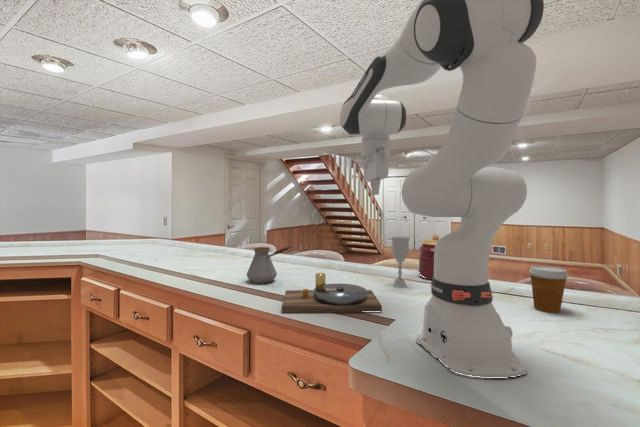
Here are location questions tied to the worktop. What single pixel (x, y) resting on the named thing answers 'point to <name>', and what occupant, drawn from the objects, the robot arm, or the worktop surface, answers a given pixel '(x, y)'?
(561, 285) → the disposable coffee cup
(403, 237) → the chalice
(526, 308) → the worktop surface
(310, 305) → the walnut stand
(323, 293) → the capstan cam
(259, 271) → the coffee pot
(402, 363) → the worktop surface
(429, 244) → the canister
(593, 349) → the worktop surface
